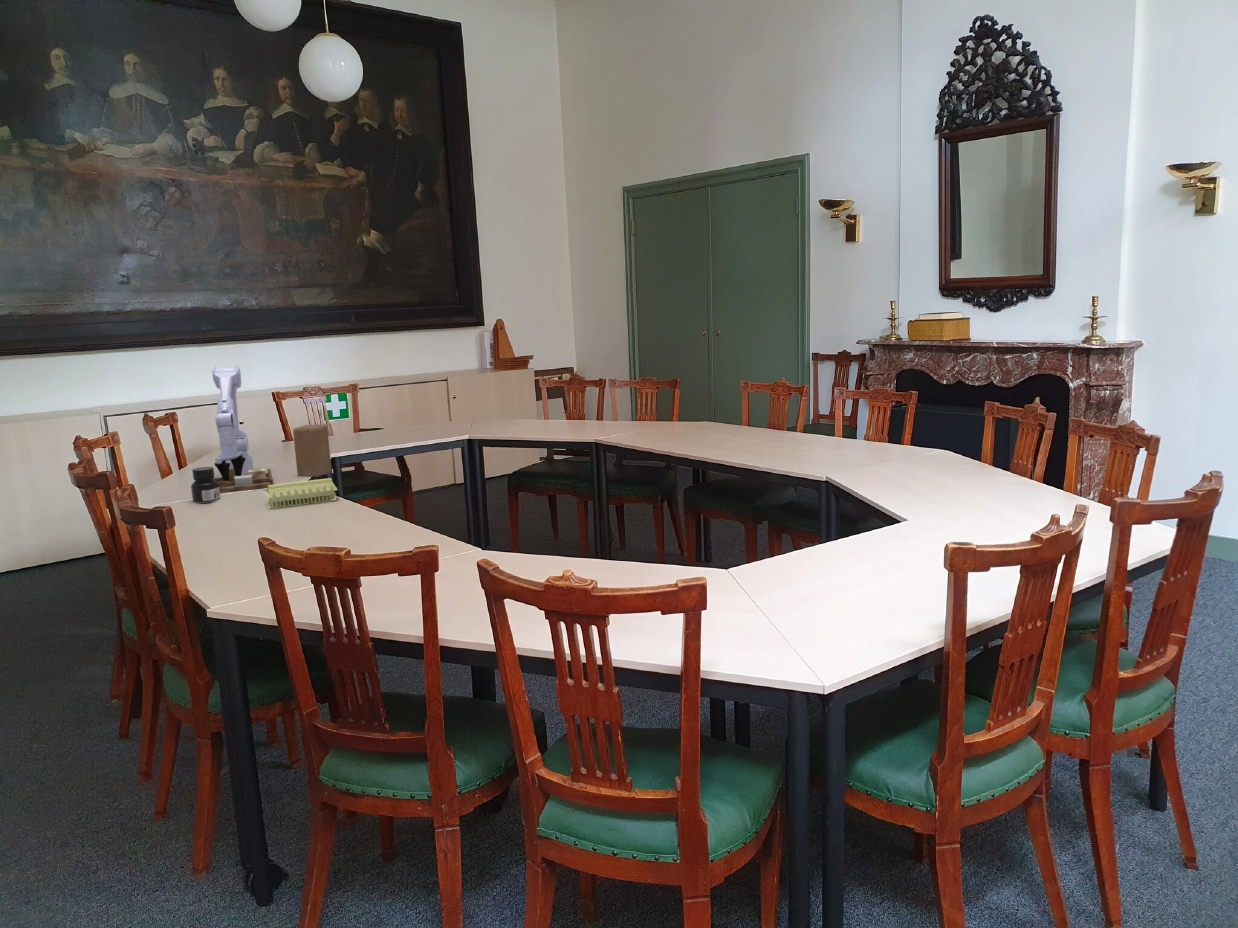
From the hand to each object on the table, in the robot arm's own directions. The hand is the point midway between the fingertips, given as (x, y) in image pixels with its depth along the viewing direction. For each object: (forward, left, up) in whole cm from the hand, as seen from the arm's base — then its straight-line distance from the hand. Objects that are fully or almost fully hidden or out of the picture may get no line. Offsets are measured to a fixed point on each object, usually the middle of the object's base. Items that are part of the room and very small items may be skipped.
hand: (232, 478), depth 337 cm
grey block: (+5, +11, -2) cm, 12 cm away
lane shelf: (+2, +5, -3) cm, 6 cm away
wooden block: (-22, +20, -3) cm, 30 cm away
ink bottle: (+24, +12, -3) cm, 28 cm away
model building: (+15, +46, -3) cm, 49 cm away
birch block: (-4, +4, -2) cm, 6 cm away
